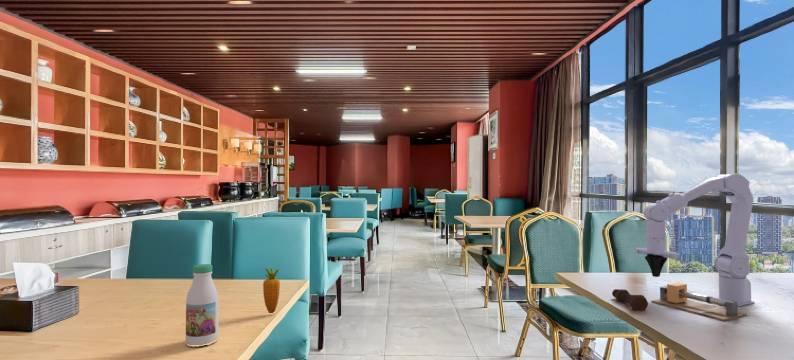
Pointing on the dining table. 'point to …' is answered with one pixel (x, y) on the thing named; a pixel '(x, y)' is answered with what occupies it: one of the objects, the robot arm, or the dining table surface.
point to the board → (700, 309)
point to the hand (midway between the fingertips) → (656, 276)
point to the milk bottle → (202, 308)
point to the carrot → (271, 290)
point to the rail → (705, 300)
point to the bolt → (631, 299)
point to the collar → (676, 292)
